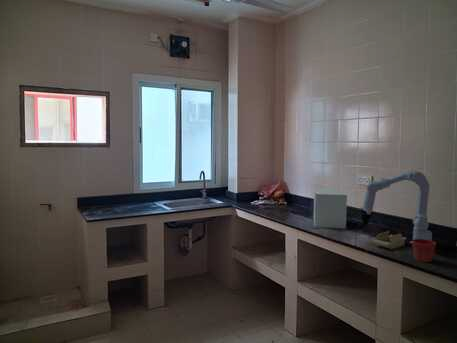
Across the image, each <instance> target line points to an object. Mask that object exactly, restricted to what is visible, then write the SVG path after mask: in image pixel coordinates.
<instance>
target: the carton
mask: <svg viewBox="0 0 457 343" xmlns="http://www.w3.org/2000/svg"><path fill="white" fill-rule="evenodd" d="M393 235H394V234H390V235H389V234H388V235H387V236H385V237H381V238H378V239H375V238H374V239H372V240H370V241H371V242H373V245H375V246H378V247H381V248H385V249H390V250H393V249H397V248H400V247H404V246H405V240H407V237H403V239H404V240H401V241H398V242H395V243H392V242H391V240H390V238H389V236H393Z"/></svg>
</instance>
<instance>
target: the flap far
mask: <svg viewBox="0 0 457 343" xmlns="http://www.w3.org/2000/svg"><path fill="white" fill-rule="evenodd" d="M390 232H391V231H390V230H387V231H385V232H380V233H377V235H376V237H375V238H374V240H375V239H378V238H382V237H385V236H389V234H390Z"/></svg>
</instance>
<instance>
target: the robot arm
mask: <svg viewBox="0 0 457 343" xmlns="http://www.w3.org/2000/svg"><path fill="white" fill-rule="evenodd" d="M401 181H402V182H403V181H409V182H411V181H412V182H413V183H414V184H416V185H417V186H418V187H419V188H418V198H417V207H416V213H415V216H414V218H413V219H412V224H413V225H414V226H413V227H412V228H413V230H412V240H413V239H426V240H431V241H433V240H432V238H433V232H432V231H431V230H428V229H429V226H430V224H429V222H428V215H427V211H428V203H429V195H430V194H429V193H430V183H429V181H428V180H427V177H426V175H425V174H424V173H422V172H420V171H416V170H411V171H407V172H404V173H401V174H399V175H396V176H393V177H391V178H385V177H382V178H381V179H379V180H377V181H375V180H374V181H373V182H370V183H367V185H366V192H365V197H364V200H363V201H364V202H363V206H362V207H360V212H361V222H362V223H363V225H366V226H367V225H368V224H369V222H370V220H371V219H372V217H374V215H373V214H371V213H372V212H373V209H374V206H375V200H376V196H377V192H378V191H381V190H384V189H388V188H389V187H391V185H392V184H396V183H399V182H401ZM412 240H411V241H409V243H410V244H412Z"/></svg>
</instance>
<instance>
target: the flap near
mask: <svg viewBox="0 0 457 343" xmlns="http://www.w3.org/2000/svg"><path fill="white" fill-rule="evenodd" d="M392 235H393V236H389V235H388V236H389V238H390V240H391V242H392V243H395V242H398V241H401V240H404V239H403V238H404V236H403V235H402V233H401V232H400V233H396V234H392Z"/></svg>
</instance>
